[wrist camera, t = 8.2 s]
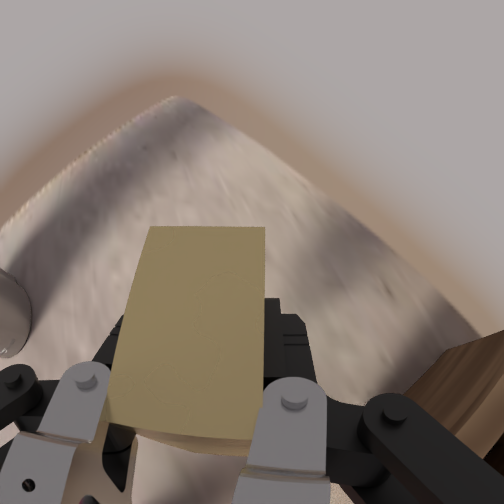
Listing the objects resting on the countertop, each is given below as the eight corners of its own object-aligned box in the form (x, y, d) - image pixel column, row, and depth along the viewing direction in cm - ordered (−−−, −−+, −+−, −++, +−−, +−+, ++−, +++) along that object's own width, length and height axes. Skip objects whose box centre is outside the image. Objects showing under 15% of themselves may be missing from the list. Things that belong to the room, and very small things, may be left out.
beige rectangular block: (202, 361, 16) (150, 226, 8) (260, 363, 16) (264, 227, 8) (194, 452, 12) (102, 420, 5) (257, 456, 12) (261, 440, 5)
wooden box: (329, 454, 22) (383, 500, 10) (446, 349, 25) (537, 315, 13) (404, 543, 16) (469, 595, 5) (504, 443, 20) (588, 443, 8)
